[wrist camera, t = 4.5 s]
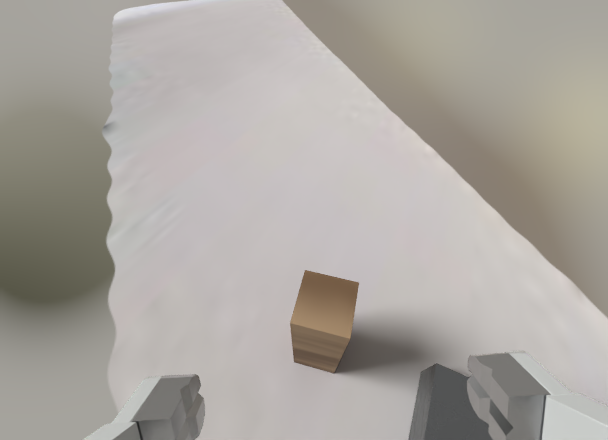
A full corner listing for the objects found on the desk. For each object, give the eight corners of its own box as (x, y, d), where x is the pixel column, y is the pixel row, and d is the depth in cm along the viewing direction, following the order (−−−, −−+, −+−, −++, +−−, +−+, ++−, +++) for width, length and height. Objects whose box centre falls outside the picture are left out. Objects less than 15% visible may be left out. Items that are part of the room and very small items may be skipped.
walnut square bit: (333, 373, 28) (350, 338, 19) (294, 362, 29) (290, 322, 19) (341, 332, 30) (358, 282, 21) (304, 322, 31) (305, 270, 22)
